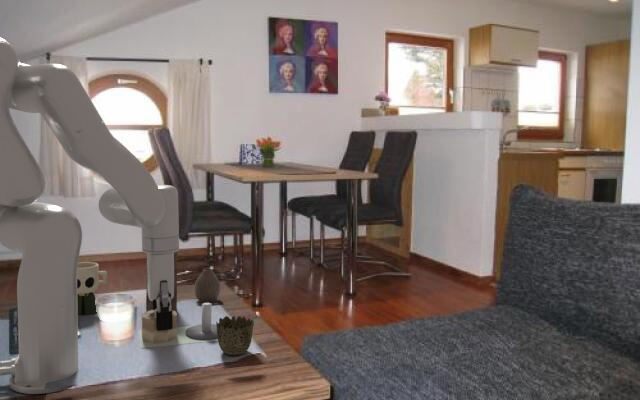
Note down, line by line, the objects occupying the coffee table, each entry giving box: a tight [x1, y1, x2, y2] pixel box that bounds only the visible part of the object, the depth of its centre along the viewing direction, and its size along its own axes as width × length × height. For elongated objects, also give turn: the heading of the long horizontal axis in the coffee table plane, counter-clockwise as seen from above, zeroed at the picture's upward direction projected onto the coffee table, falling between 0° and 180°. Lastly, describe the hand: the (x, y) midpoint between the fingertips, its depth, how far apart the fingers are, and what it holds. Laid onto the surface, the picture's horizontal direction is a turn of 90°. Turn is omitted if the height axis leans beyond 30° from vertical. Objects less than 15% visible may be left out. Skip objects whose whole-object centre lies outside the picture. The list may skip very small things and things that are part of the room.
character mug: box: [77, 261, 108, 317], centre depth 133 cm, size 11×7×13 cm, turn 113°
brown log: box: [145, 251, 178, 312], centre depth 136 cm, size 8×7×20 cm
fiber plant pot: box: [215, 315, 255, 357], centre depth 110 cm, size 8×7×8 cm
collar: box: [141, 310, 178, 343], centre depth 118 cm, size 7×7×5 cm
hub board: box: [138, 302, 218, 349], centre depth 120 cm, size 18×11×8 cm, turn 111°
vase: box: [194, 268, 221, 304], centre depth 151 cm, size 7×7×9 cm
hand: (162, 322), depth 118 cm, fingers open, 9 cm apart
